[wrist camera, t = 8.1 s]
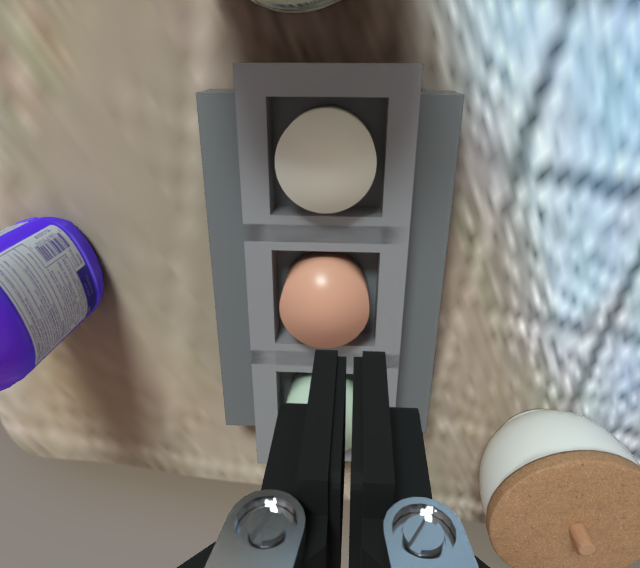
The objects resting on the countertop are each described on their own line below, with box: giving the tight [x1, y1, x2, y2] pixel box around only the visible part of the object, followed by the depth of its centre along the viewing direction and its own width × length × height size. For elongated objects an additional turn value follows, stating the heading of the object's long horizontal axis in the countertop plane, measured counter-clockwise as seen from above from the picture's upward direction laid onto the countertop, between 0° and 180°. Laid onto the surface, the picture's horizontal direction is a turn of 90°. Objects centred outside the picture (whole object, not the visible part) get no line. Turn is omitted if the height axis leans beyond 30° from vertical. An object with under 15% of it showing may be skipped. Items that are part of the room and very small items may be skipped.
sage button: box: [286, 372, 353, 451], centre depth 33 cm, size 5×5×3 cm
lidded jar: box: [479, 409, 640, 568], centre depth 35 cm, size 11×11×9 cm
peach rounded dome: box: [279, 251, 369, 348], centre depth 30 cm, size 5×5×3 cm
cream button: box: [275, 104, 377, 214], centre depth 26 cm, size 5×5×3 cm
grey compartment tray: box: [196, 62, 464, 464], centre depth 32 cm, size 14×25×5 cm, turn 0°
